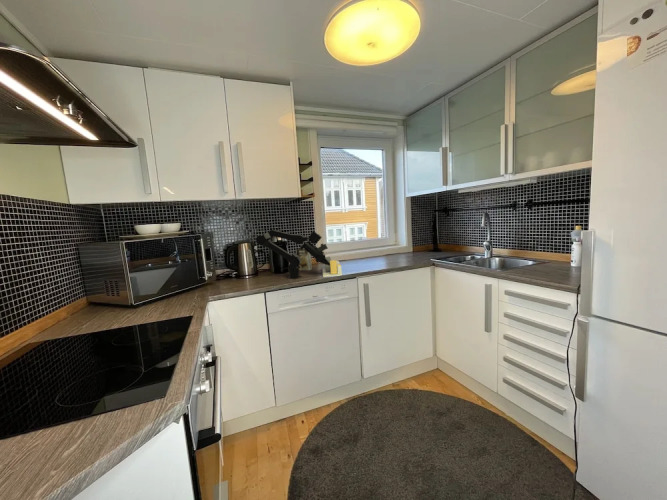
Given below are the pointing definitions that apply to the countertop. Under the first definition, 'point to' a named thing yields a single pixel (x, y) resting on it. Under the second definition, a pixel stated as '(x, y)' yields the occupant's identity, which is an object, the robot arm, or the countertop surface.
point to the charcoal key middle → (327, 266)
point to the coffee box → (304, 259)
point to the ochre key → (333, 266)
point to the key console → (326, 274)
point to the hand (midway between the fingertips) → (329, 264)
